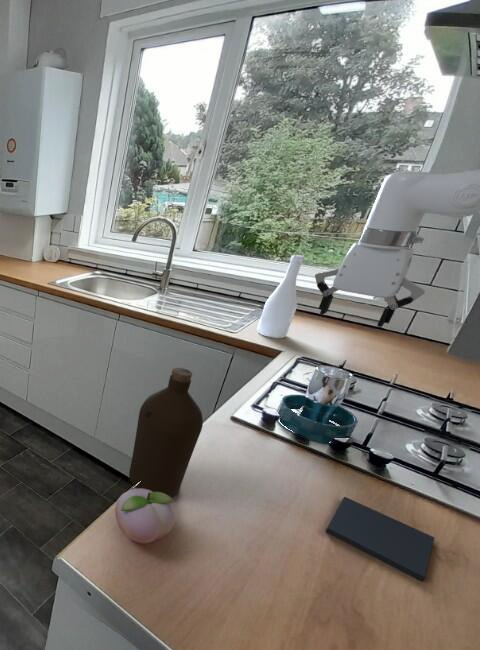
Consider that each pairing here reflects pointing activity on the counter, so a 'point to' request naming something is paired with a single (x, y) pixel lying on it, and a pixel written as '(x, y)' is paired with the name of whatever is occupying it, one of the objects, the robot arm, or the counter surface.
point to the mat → (382, 537)
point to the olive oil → (166, 436)
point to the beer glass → (325, 393)
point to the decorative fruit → (144, 515)
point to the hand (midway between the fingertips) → (350, 319)
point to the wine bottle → (281, 304)
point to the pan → (313, 428)
